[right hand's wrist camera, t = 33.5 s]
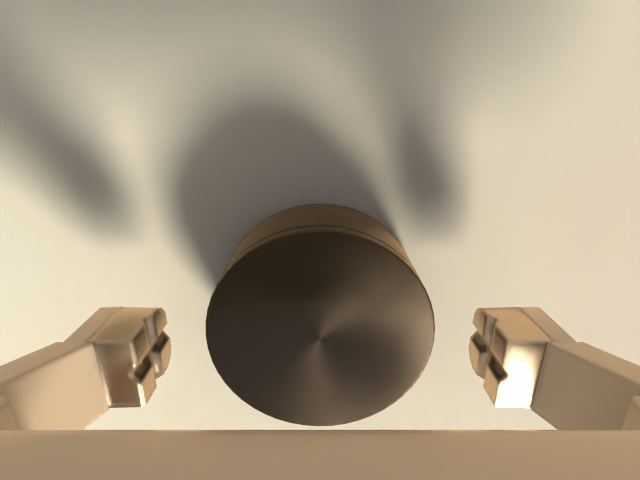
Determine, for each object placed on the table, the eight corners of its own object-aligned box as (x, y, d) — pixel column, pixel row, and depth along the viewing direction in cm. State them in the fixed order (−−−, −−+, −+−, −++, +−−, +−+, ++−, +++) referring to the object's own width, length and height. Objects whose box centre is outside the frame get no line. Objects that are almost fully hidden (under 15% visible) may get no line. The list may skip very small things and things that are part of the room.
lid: (347, 395, 13) (353, 455, 11) (195, 320, 12) (167, 369, 10) (451, 265, 12) (483, 305, 9) (285, 165, 11) (276, 183, 8)
